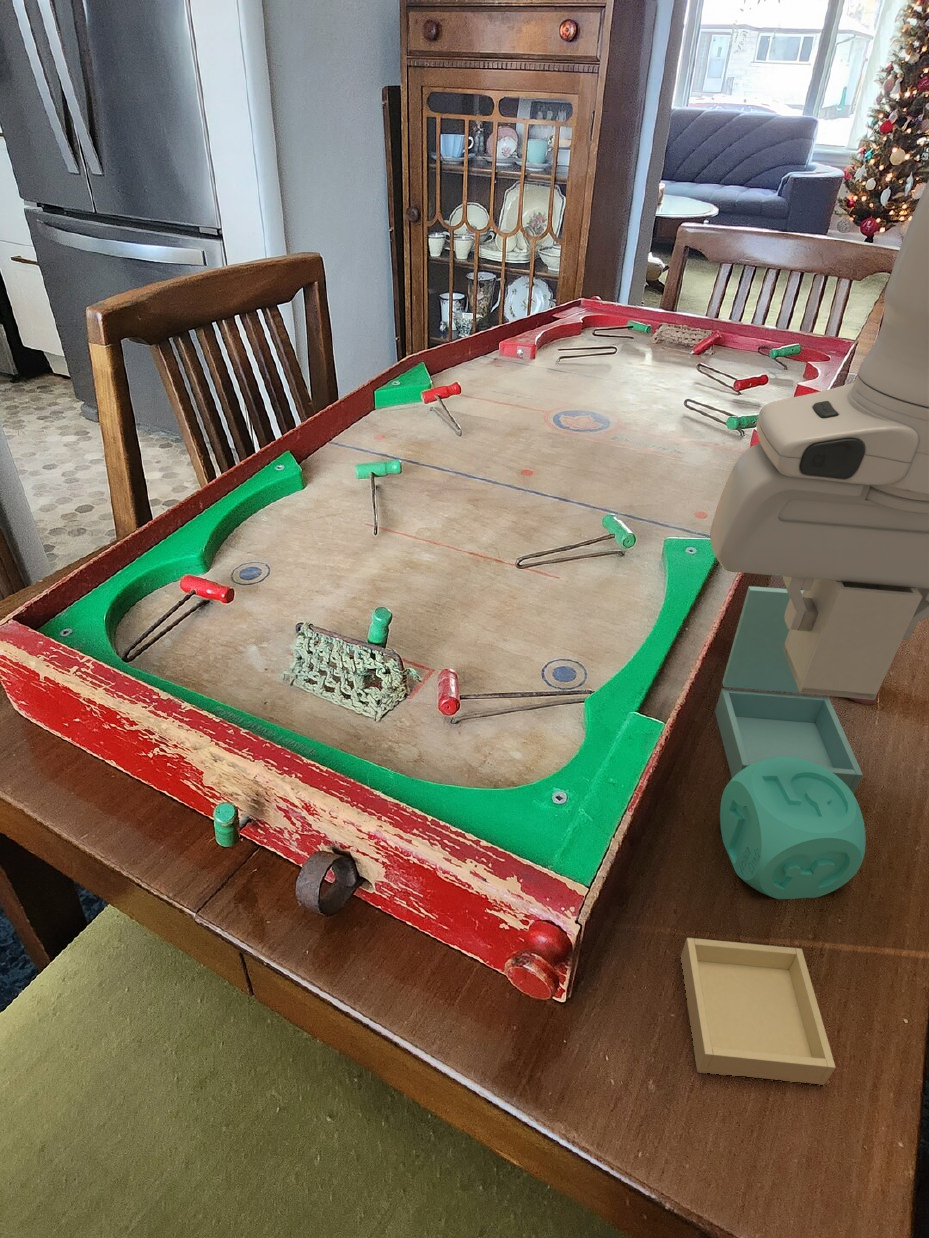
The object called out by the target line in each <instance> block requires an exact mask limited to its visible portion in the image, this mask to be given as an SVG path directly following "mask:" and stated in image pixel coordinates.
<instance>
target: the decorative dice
mask: <svg viewBox="0 0 929 1238" xmlns="http://www.w3.org/2000/svg"><path fill="white" fill-rule="evenodd" d="M719 822H720V824H719V825H720V832H721V840H722V844H723V845H724V848H725V850H726V853H727V855H728V858H729V860H730V862H731V865H732V867H733V869H734V872H735V874H736V875H737V876H738V877H739V878H740V879H741V880H742V881H743V882H744V883H746V885H748V886H750V887H751V888H752V889H753V890H756V891H757V892H758V893H761V894H763V895H765V896H767V897H770V898H774V899H776V900H793V899H794V900H795V899H813V898H820V897H822V896H825V895H828V894H830V893H832V892H834V891H836V890H838V889H839V888H842V887H843V886H844V885H846V884H847V883H848V882H850V881H851V879H852V878H853V877H854V876H855V875H856V874H857V873H858V871H859V869H860V868H861V866H862V864H863V861H864V857H865V853H866V842H867V841H866V839H867V837H866V826H865V821H864V817H863V813H862V811H861V807H860V805H859V803H858V800H857V798H856V796H855V793H854V794H853V793H852V791H851V790H850V789H849V787H848V786H847V785H846V784H845V783H844V782H843V781H842V780H841V779H840V778H839V777H838V776H836V775H835V774H834V773H832V772H831V771H829V770H828V769H826V768H824V767H822V766H820V765H818V764H816V763H814V762H811V761H808V760H804V759H800V758H794V757H774V758H768V759H764V760H761V761H758V762H756V763H753V764H751V765H749V766H747V767H746V768H744V769H743V770H741V771H740V772H739V773H737V774H736V775H735V776H734V777H733V778H732V777H731V779H730V780H729V782H728V783H727V784H726V786H725V787H724V789H723V792H722V795H721V799H720V809H719Z"/></svg>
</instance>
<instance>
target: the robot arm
mask: <svg viewBox="0 0 929 1238" xmlns="http://www.w3.org/2000/svg"><path fill="white" fill-rule="evenodd" d="M883 300H884V301H883V317H882V321H881V326H880V329H879V332H878V335H877V337H876V339H875V341H874V343H873V345H872V347H870V349H869V351H868V352H867V354H866V355H865V357H864V358H863V360H862V362H861V364H860V365H859V367H858V371H857V373H856V377H855V380H854V382H851V383H847V384H844V385H841V386H835V387H833V388H829V389H826V390H825V389H824V390H821V391H816V392H812V393H807V394H803V395H798V396H794V397H789V398H785V399H780V400H775V401H771V402H769V403H767V404H765V405H764V406H762V408H761V409H760V411H759V413H758V414H757V415H758V416H757V420H756V425H755V426H756V434H757V438H758V441H759V442H758V443H755V444H754V445H752V446H750V447H749V448H747V449H746V450H745V451H744V452H743V453H742V454H741V455H740V456H739V457H738V459H737V460H736V461H735V463H734V465H733V466H732V469H731V471H730V473H729V476H728V478H727V480H726V482H725V484H724V487H723V489H722V492H721V495H720V498H719V501H718V503H717V506H716V509H715V513H714V516H713V519H712V523H711V526H710V532H709V540H710V545H711V549H712V551H713V553H714V554H713V555H714V556H715V558H716V560H717V561H718V563H719V564H720V565H721V567H722V568H723V570H724V571H727V572H731V573H742V574H743V573H744V574H754V575H764V576H765V575H766V576H777V577H782V580H783V583H784V585H785V589H787V592H788V595H789V597H790V599H789V602H788V605H787V608H786V611H785V622H786V625H787V627H788V629H789V630H797V631H811V630H812V629H813V626H814V625H813V623H814V622H815V621H816V618H817V616H818V611H817V609H816V607H815V606H814V602H813V600H812V598H806V597H803V596H802V593H801V589H802V590H810V589H811V587H812V584H813V581H814V579H821V580H832V581H844V582H855V583H867V584H878V585H890V586H901V587H912V588H917V590H918V591H919V593H920V594H921V596H922V599H921V601H920V603H919V605H918V607H917V609H916V612H915V614H914V616H913V618H912V620H911V622H910V624H909V627H908V629H907V631H906V633H905V635H904V637H903V639H902V641H909V640H910V639H911V637H912V635H913V633H914V631H915V629H916V627H917V625H918V623H919V622H922V621H923V620H925V619H926V618H927V617H929V179H928V181H927V183H926V185H925V187H924V189H923V191H922V193H921V196H920V198H919V200H918V202H917V204H916V207H915V208H914V211H913V214H912V216H911V219H910V222H909V224H908V226H907V228H906V231H905V234H904V236H903V239H902V242H901V244H900V247H899V250H898V252H897V256H896V259H895V261H894V264H893V267H892V270H891V273H890V276H889V279H888V282H887V285H886V288H885V291H884V299H883Z"/></svg>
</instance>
